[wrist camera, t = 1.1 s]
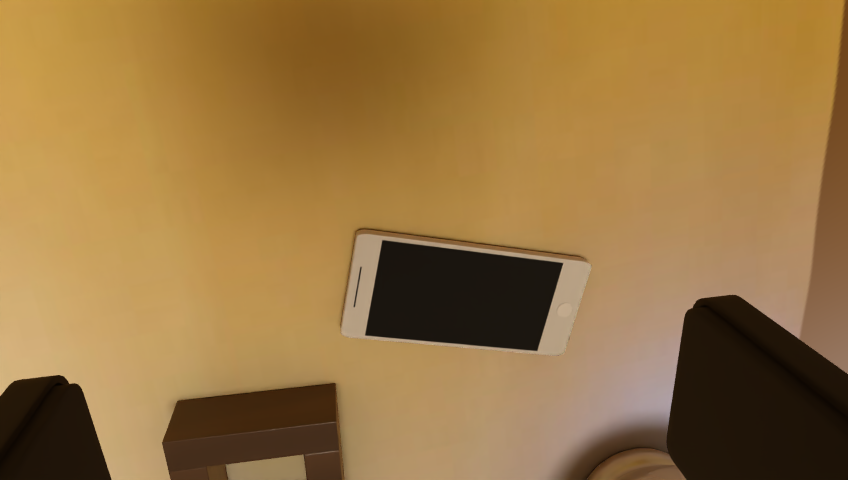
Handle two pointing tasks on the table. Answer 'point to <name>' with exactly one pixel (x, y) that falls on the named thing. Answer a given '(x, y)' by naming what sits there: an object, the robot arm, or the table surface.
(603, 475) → the teapot
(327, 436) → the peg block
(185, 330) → the table surface
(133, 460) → the table surface
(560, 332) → the smartphone
